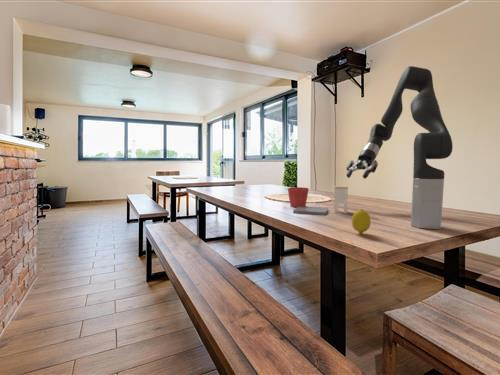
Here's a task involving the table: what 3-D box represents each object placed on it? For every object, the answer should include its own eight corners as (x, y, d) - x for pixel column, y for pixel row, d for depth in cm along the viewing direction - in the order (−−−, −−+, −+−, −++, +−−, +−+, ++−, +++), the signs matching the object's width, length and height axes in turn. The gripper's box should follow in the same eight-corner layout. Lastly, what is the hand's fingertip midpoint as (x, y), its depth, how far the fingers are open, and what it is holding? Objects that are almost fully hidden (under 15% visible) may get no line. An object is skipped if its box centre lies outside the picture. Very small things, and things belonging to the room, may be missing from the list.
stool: (346, 213, 125) (347, 186, 124) (334, 212, 127) (334, 186, 126) (347, 211, 130) (347, 186, 129) (334, 210, 132) (335, 185, 131)
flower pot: (284, 205, 149) (284, 187, 148) (302, 204, 152) (302, 186, 152) (293, 208, 139) (293, 189, 138) (312, 207, 142) (312, 188, 141)
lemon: (348, 231, 91) (349, 207, 90) (364, 231, 91) (365, 207, 91) (356, 236, 85) (357, 210, 85) (373, 235, 86) (374, 210, 85)
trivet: (324, 215, 120) (325, 212, 120) (293, 213, 125) (293, 210, 125) (327, 210, 133) (327, 207, 133) (299, 208, 138) (299, 206, 138)
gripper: (353, 149, 144) (339, 171, 138) (380, 147, 133) (366, 172, 127) (358, 159, 148) (345, 181, 142) (385, 159, 137) (372, 183, 131)
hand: (355, 177), depth 134 cm, fingers open, 8 cm apart
